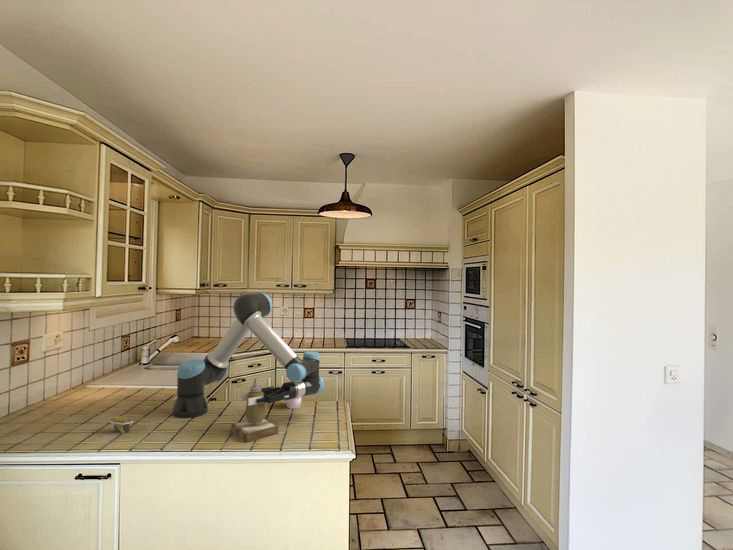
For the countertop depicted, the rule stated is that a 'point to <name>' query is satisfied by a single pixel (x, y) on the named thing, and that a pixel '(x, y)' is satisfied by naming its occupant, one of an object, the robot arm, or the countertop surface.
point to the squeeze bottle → (255, 405)
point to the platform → (121, 423)
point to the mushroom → (293, 403)
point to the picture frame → (254, 430)
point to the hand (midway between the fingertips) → (244, 399)
